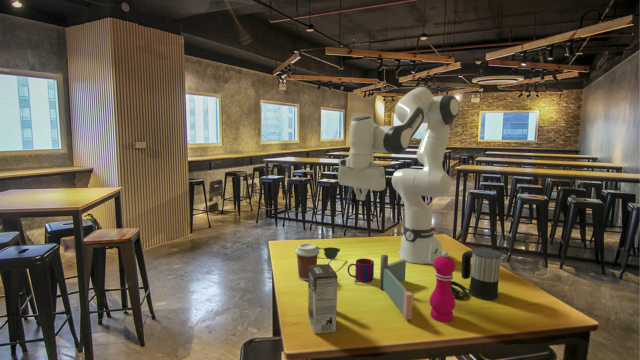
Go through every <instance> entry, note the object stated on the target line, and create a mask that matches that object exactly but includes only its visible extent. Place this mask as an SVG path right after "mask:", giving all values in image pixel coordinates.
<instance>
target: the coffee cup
mask: <svg viewBox="0 0 640 360" xmlns="http://www.w3.org/2000/svg"><path fill="white" fill-rule="evenodd" d="M317 247H318V245H316V244H314V243H301V244H299V245H297V248H296V249H295V251H294V252H295V254H296V258H297V260H296V261H297V270H298V271H297V272H298V279H299V280H302V281H308V265H316V264H318V255H320V249H318V248H319V247H318V248H317Z"/></svg>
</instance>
